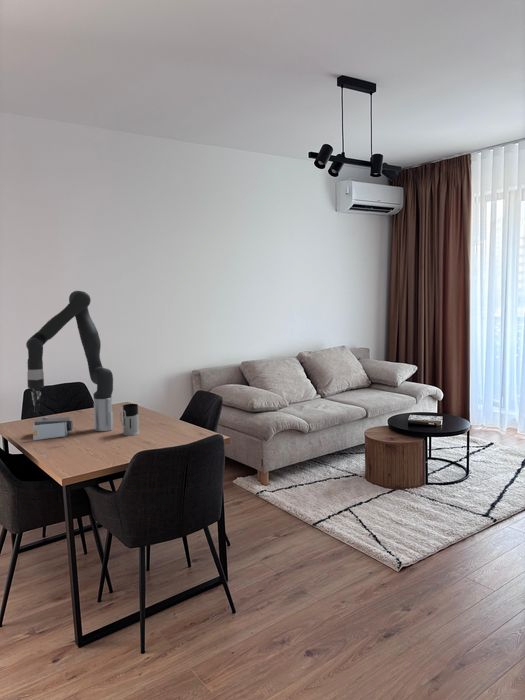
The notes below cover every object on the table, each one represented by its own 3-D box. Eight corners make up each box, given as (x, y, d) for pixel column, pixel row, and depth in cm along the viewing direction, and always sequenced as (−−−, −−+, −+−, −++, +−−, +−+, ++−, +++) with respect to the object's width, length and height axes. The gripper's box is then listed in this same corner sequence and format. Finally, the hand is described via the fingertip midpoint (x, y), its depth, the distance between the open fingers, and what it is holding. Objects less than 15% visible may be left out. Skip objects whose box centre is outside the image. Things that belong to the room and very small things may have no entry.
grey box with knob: (73, 431, 289) (73, 415, 288) (68, 436, 279) (68, 419, 278) (41, 432, 287) (40, 416, 287) (35, 437, 277) (34, 420, 277)
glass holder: (142, 432, 288) (142, 403, 286) (129, 438, 274) (128, 409, 273) (127, 431, 290) (127, 403, 288) (113, 437, 276) (112, 408, 275)
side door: (66, 435, 279) (66, 422, 278) (67, 436, 277) (66, 422, 277) (33, 439, 271) (32, 425, 270) (33, 440, 269) (33, 426, 269)
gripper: (25, 377, 275) (26, 411, 276) (29, 380, 263) (30, 415, 265) (41, 376, 279) (42, 409, 280) (45, 379, 267) (47, 414, 269)
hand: (36, 412), depth 273 cm, fingers closed
